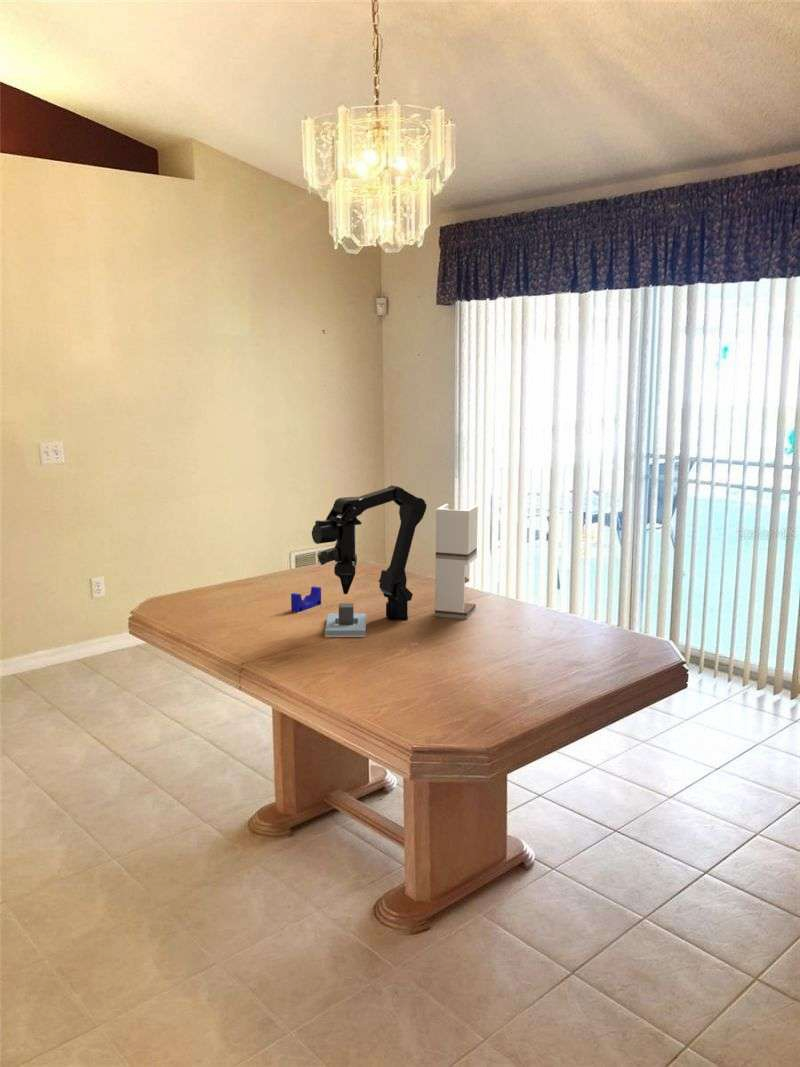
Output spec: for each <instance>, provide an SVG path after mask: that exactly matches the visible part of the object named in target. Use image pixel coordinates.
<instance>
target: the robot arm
mask: <svg viewBox="0 0 800 1067" xmlns="http://www.w3.org/2000/svg"><path fill="white" fill-rule="evenodd" d="M390 502H394V504H396V505H397V506H398V507H399V509H398V514H399V518H400V526H399V530H398V533H397V537H396V542H395V544H394V548H393V553H392V556H391V561H390V563H389V566H388V568H387V569H382V570H381V571H380V577H379V580H378V583H379V589H380V591H381V592H382V593H383V597H384V598H387V601H386V602H385V616H386V618H387V621H390V620H391V621H408V620H409V616H408V614H409V613H408V610H409V608H408V607H409V606H408V603H409V602H410V601H412V598H413V595H414V594H413V593H412V592H411V591H410V590H409V589H408V588H407V582H408V580H407V574H406V566H407V563H408V559H409V555H410V551H411V547H412V543H413V539H414V537H415V536H414V535H415V532H416V531H415V530H416V528H417V525H418V524H419V523H420V522H422V520H423V518H424V516H425V513H426V511H427V506H428V505H427V502H426V501H425V500H424V499H423V498H421V497H417V496H415V495H413V494H412V493H410V492H408V491H406V489H403V488H402V486H397V485H389V486H388V487H386V488H382V489H379V490H376V491H372V492H369V493H366V494H363V495H360V496H348V497H347V496H345V497H338V498H337V499H335V501H334V503H333V506H332V508H331V510H330V511H329V513H328V514H327V517H326V518H325V520H319V519H318V520H315V521H314V522H315V524H314V526H313V528H312V530H311V537H312V540H313V543H315V544H317V545H319V544H328V543H335V545H334V547H331V548H327V549H325V550H322V551H321V550H320V551H319V552H318V553H317V558H318V562H319V564H320V566H322V565H324V566H325V565H326V564H327V563H331V562H333V561H334V562H335V564H334V567H333V568H334V571H333V572H334V575H335V576H336V577H338V579H339V580H340V584H341V588H342V592H343V595H348V593H349V591H350V588H351V586H352V583H353V581H354V578H355V576H356V570H357V569H356V567H357V561H358V556H357V553H356V526H358V525H359V526H361V525H362V522H361V520H359V519H358V518H357V517H359V516H360V515H362V514H363V513H364V512H365V511H366V510H369V509H373V508H375V507H378V506H380V505H384V504H387V503H390Z"/></svg>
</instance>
